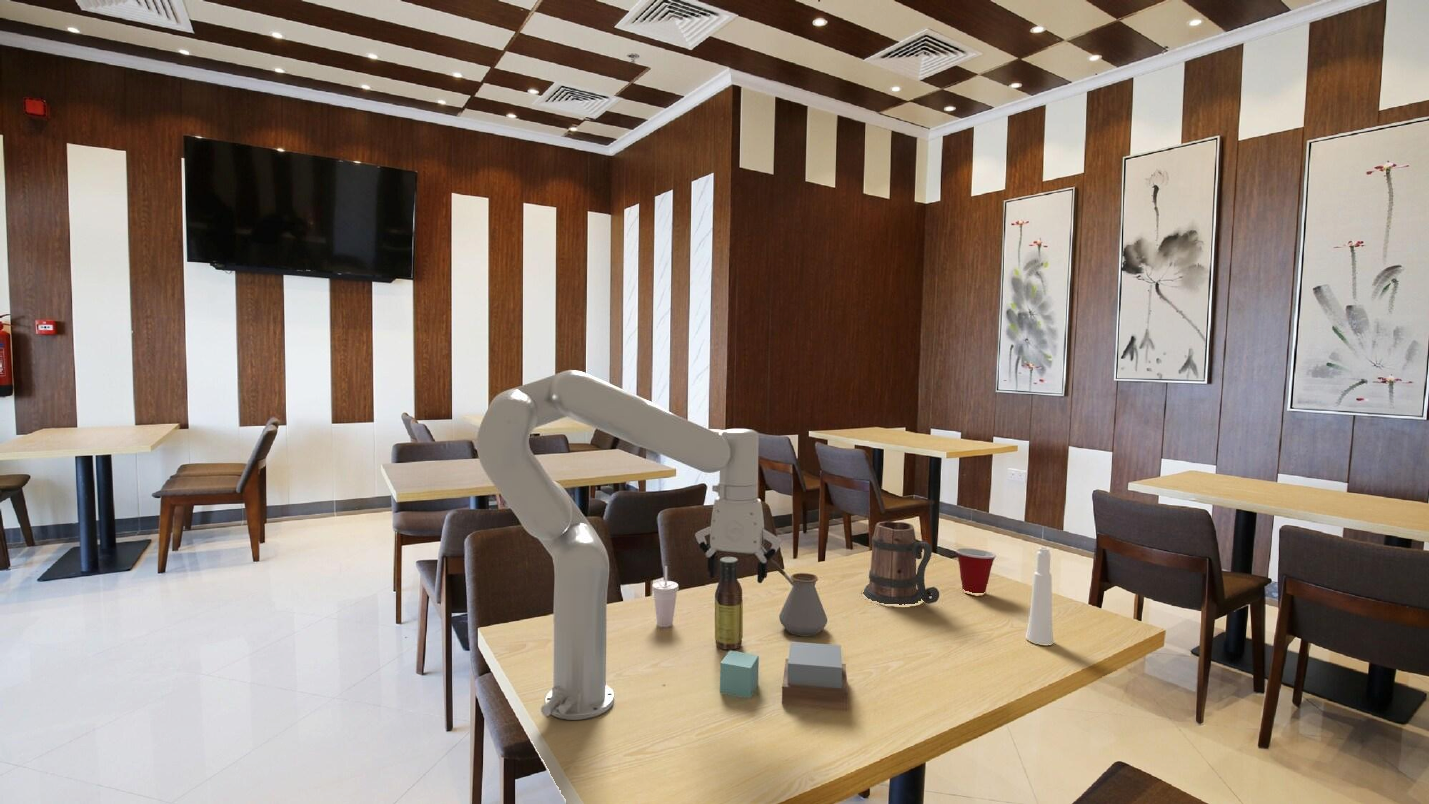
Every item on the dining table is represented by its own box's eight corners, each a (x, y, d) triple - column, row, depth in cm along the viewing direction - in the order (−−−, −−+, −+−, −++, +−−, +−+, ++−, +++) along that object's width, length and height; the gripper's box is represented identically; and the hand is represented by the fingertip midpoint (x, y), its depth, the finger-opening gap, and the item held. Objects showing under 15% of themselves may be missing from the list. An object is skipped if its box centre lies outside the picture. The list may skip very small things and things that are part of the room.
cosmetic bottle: (1024, 643, 154) (1029, 549, 153) (1025, 633, 159) (1030, 543, 158) (1053, 648, 151) (1058, 553, 150) (1054, 639, 157) (1058, 547, 155)
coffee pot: (837, 633, 158) (839, 570, 157) (800, 643, 151) (802, 579, 150) (779, 605, 175) (780, 549, 174) (744, 613, 169) (745, 555, 168)
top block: (841, 688, 123) (842, 667, 123) (787, 684, 125) (787, 663, 125) (840, 664, 133) (840, 645, 133) (790, 660, 135) (790, 641, 135)
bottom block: (847, 713, 122) (847, 692, 122) (781, 707, 124) (782, 686, 124) (844, 683, 134) (845, 663, 134) (785, 677, 136) (785, 658, 136)
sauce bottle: (726, 637, 154) (728, 552, 153) (748, 644, 150) (750, 558, 149) (708, 646, 149) (709, 558, 148) (730, 654, 145) (732, 564, 144)
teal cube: (749, 698, 126) (750, 668, 126) (719, 693, 128) (720, 662, 128) (758, 684, 132) (758, 655, 131) (729, 679, 134) (729, 650, 133)
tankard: (848, 592, 186) (850, 521, 185) (891, 583, 195) (893, 515, 194) (912, 620, 166) (915, 541, 165) (957, 609, 175) (961, 534, 174)
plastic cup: (997, 591, 190) (999, 549, 189) (991, 602, 180) (992, 558, 180) (958, 583, 195) (959, 543, 195) (949, 594, 186) (951, 552, 185)
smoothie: (679, 619, 164) (680, 563, 163) (675, 630, 157) (676, 572, 157) (654, 618, 164) (655, 562, 164) (649, 628, 158) (649, 570, 157)
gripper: (690, 492, 129) (689, 579, 130) (778, 499, 124) (776, 589, 125) (702, 485, 136) (701, 568, 137) (785, 491, 131) (784, 577, 132)
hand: (737, 578), depth 131 cm, fingers open, 9 cm apart
